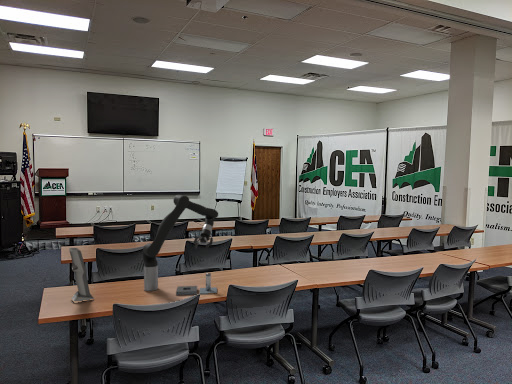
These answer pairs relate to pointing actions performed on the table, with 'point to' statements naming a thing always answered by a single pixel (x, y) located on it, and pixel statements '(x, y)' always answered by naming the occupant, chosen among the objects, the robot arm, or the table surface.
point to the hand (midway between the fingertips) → (200, 248)
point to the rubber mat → (203, 291)
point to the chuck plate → (186, 290)
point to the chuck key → (208, 281)
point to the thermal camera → (80, 276)
